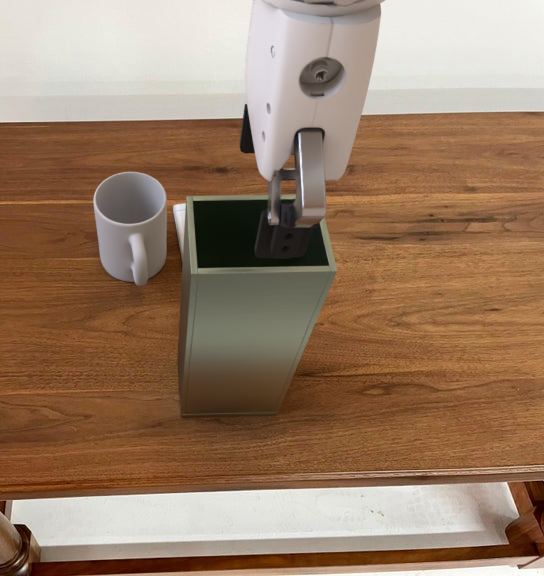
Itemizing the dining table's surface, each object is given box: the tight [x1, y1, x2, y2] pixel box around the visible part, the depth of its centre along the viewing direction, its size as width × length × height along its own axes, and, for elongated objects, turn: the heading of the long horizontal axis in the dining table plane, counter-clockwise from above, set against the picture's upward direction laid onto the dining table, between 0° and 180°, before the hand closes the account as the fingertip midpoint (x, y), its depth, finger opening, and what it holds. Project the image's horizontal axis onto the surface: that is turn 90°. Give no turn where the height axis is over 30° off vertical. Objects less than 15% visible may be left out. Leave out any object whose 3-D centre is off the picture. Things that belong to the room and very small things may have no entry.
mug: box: [93, 171, 168, 287], centre depth 72 cm, size 12×8×11 cm
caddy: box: [177, 193, 338, 418], centre depth 56 cm, size 10×8×27 cm
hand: (269, 198), depth 42 cm, fingers open, 9 cm apart
